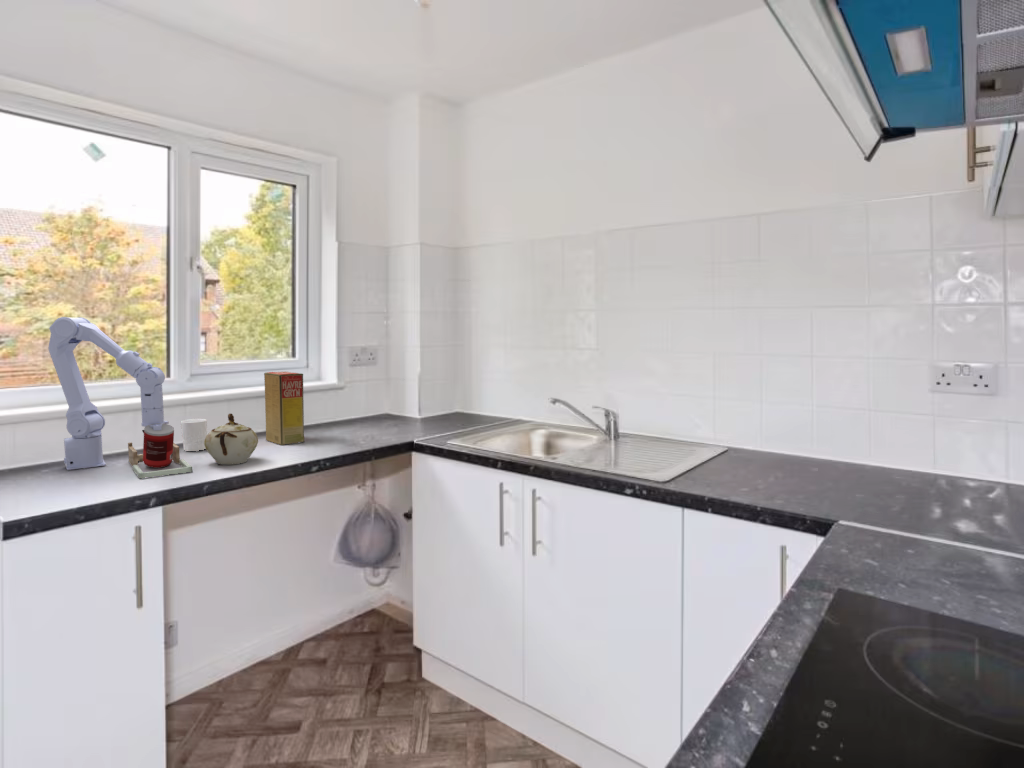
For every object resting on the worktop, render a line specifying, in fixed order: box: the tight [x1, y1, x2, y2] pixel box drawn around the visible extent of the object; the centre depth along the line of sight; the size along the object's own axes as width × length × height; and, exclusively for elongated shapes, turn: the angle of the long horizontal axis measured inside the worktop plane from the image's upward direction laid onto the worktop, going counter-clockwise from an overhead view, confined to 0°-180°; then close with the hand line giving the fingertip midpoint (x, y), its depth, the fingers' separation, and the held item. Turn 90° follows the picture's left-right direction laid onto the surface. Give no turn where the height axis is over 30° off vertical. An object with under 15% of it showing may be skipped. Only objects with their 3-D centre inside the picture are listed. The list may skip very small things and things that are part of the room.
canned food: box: [142, 423, 175, 469], centre depth 180 cm, size 8×8×11 cm
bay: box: [132, 458, 194, 479], centre depth 175 cm, size 13×13×2 cm
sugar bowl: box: [204, 413, 259, 466], centre depth 187 cm, size 20×15×15 cm
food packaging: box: [263, 371, 305, 446], centre depth 220 cm, size 13×9×25 cm
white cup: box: [180, 418, 208, 452], centre depth 205 cm, size 8×8×10 cm
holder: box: [127, 441, 181, 467], centre depth 186 cm, size 12×11×6 cm
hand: (154, 452), depth 185 cm, fingers closed
